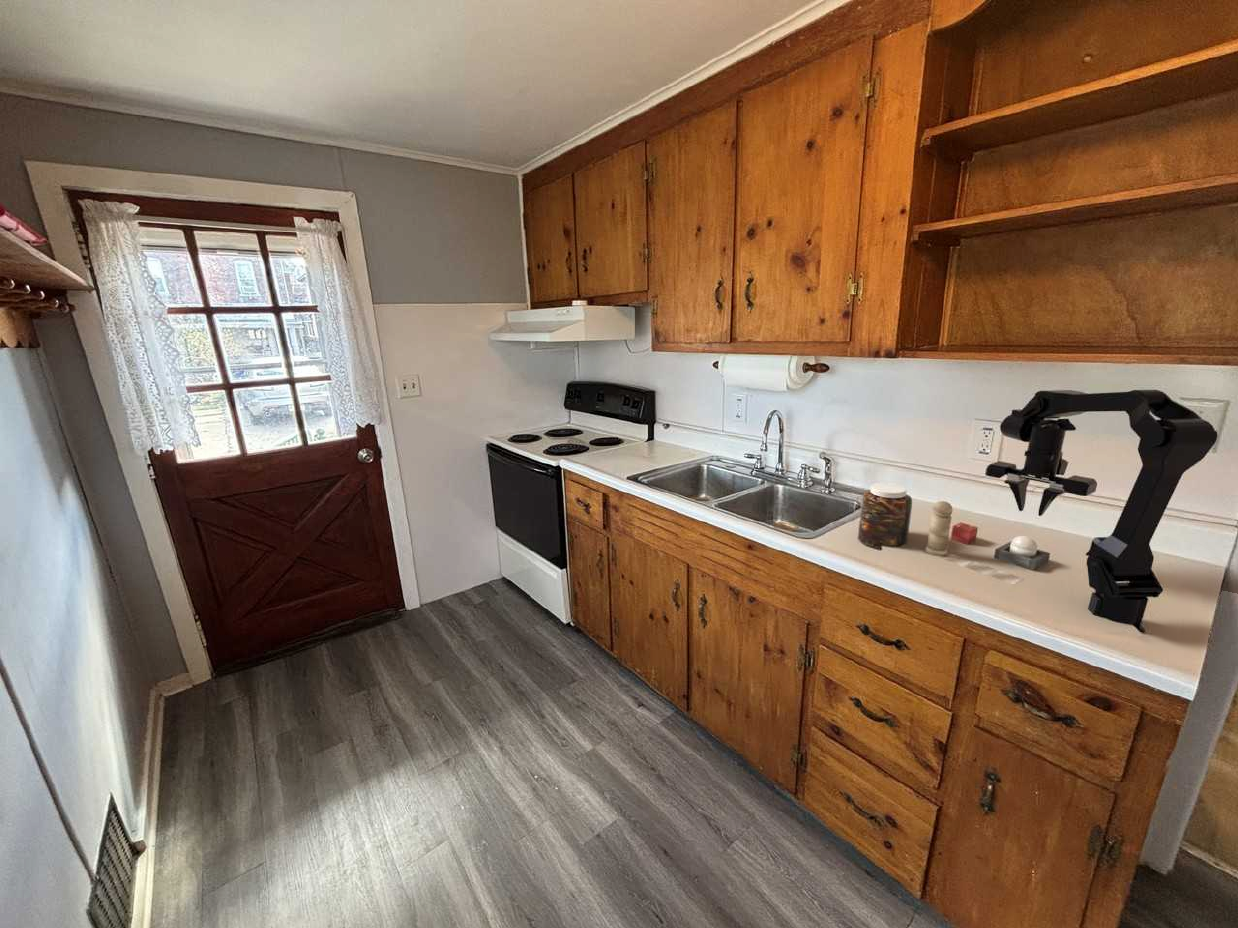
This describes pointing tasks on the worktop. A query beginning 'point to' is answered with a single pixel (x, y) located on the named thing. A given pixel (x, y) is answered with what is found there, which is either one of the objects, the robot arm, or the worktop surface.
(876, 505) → the jar
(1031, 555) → the dome
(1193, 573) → the worktop surface
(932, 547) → the pawn
